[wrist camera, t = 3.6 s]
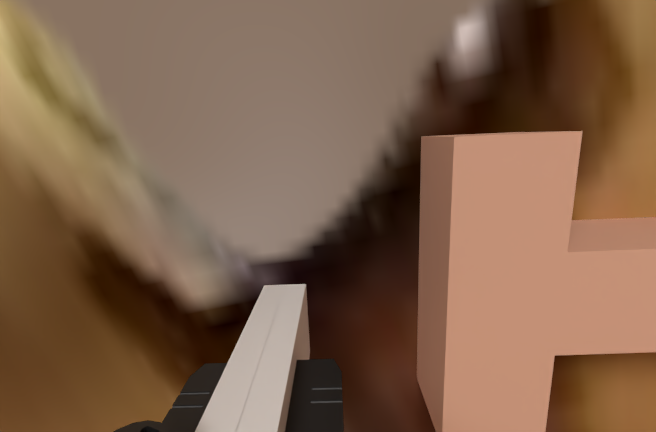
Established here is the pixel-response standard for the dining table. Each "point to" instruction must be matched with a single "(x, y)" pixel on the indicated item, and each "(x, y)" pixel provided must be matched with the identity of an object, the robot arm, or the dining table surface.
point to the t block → (519, 278)
